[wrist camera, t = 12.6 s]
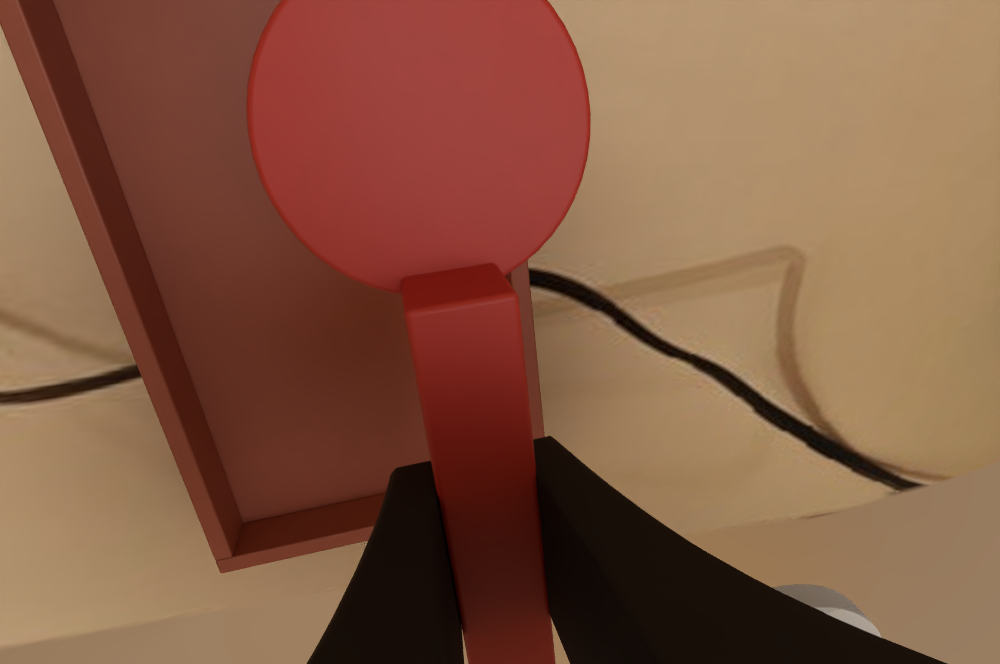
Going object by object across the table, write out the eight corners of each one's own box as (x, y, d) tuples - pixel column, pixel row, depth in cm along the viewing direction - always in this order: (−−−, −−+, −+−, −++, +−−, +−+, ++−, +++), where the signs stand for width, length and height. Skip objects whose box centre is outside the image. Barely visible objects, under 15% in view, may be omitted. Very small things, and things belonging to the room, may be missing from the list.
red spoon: (587, 575, 13) (643, 701, 10) (391, 622, 12) (395, 771, 10) (548, -51, 8) (633, -125, 6) (228, -25, 8) (148, -93, 5)
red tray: (535, 463, 20) (551, 499, 18) (235, 528, 19) (220, 574, 17) (476, -92, 14) (491, -122, 12) (17, -56, 12) (-45, -83, 11)
